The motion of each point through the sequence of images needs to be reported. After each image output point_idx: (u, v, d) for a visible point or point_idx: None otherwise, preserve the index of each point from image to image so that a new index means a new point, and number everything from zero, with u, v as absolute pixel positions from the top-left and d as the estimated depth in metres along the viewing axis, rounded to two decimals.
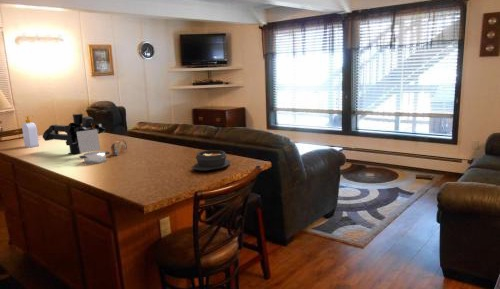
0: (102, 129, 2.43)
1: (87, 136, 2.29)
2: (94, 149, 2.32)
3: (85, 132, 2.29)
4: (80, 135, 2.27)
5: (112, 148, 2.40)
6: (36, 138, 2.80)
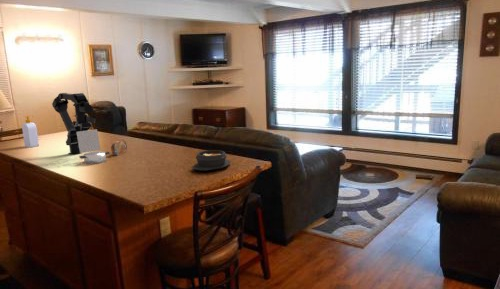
0: None
1: (87, 136, 2.29)
2: (94, 149, 2.32)
3: (85, 132, 2.29)
4: (80, 135, 2.27)
5: (112, 148, 2.40)
6: (36, 138, 2.80)
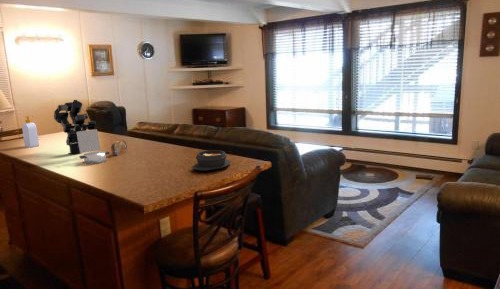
0: None
1: (87, 136, 2.29)
2: (94, 149, 2.32)
3: (85, 132, 2.29)
4: (80, 135, 2.27)
5: (112, 148, 2.40)
6: (36, 138, 2.80)
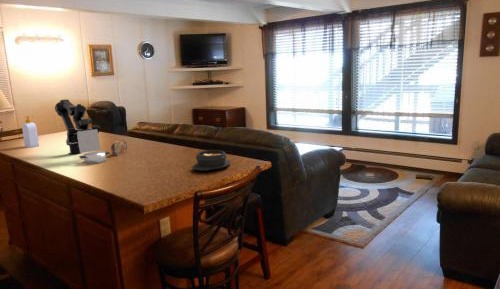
0: None
1: (87, 136, 2.29)
2: (94, 149, 2.32)
3: (85, 132, 2.28)
4: (80, 135, 2.26)
5: (112, 148, 2.40)
6: (36, 138, 2.80)
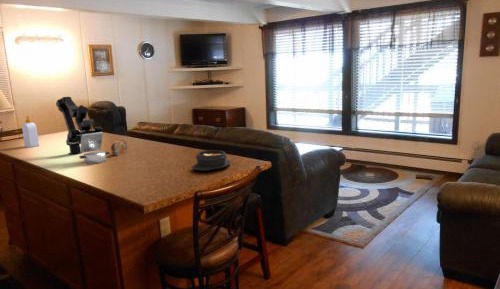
0: None
1: (91, 139, 2.25)
2: (94, 149, 2.31)
3: (90, 136, 2.23)
4: (84, 139, 2.22)
5: (112, 148, 2.40)
6: (36, 138, 2.80)
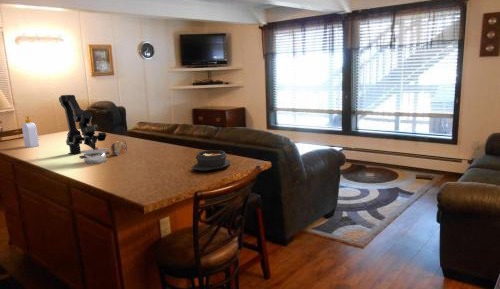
0: None
1: None
2: None
3: (96, 151, 2.21)
4: None
5: (112, 148, 2.40)
6: (36, 138, 2.80)
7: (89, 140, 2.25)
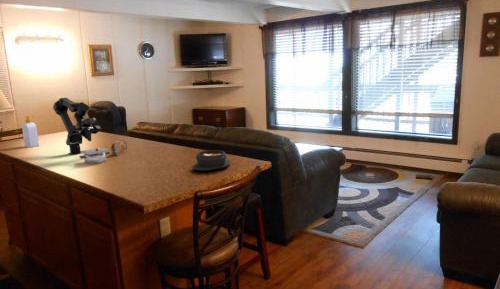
0: None
1: None
2: None
3: None
4: None
5: (112, 148, 2.40)
6: (36, 138, 2.80)
7: (86, 131, 2.33)
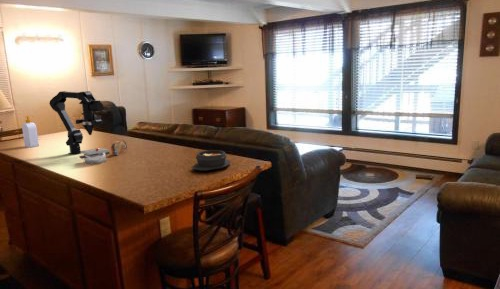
0: None
1: None
2: None
3: None
4: None
5: (112, 148, 2.40)
6: (36, 138, 2.80)
7: None
